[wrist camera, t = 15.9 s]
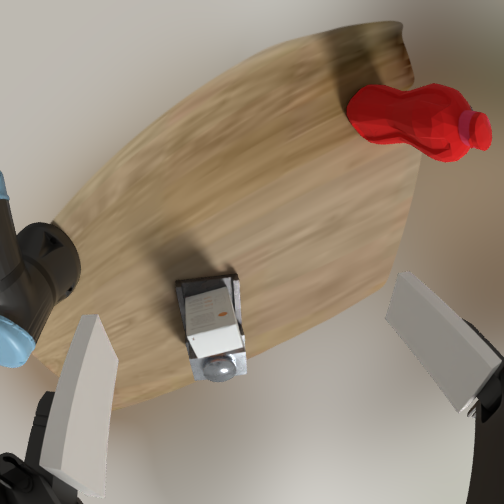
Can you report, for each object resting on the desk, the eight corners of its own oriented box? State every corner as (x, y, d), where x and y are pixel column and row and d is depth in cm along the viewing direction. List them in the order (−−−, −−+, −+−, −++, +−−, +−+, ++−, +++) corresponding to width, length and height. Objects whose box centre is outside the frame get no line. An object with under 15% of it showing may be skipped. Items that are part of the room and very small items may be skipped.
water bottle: (401, 110, 42) (513, 131, 21) (368, 148, 45) (481, 188, 23) (372, 72, 38) (489, 69, 17) (336, 111, 41) (454, 124, 19)
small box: (193, 319, 52) (196, 359, 43) (184, 296, 50) (185, 336, 41) (234, 308, 53) (244, 348, 44) (227, 285, 50) (236, 323, 41)
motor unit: (190, 349, 57) (193, 386, 48) (175, 280, 49) (174, 317, 40) (241, 342, 59) (250, 379, 50) (237, 273, 51) (247, 308, 42)
